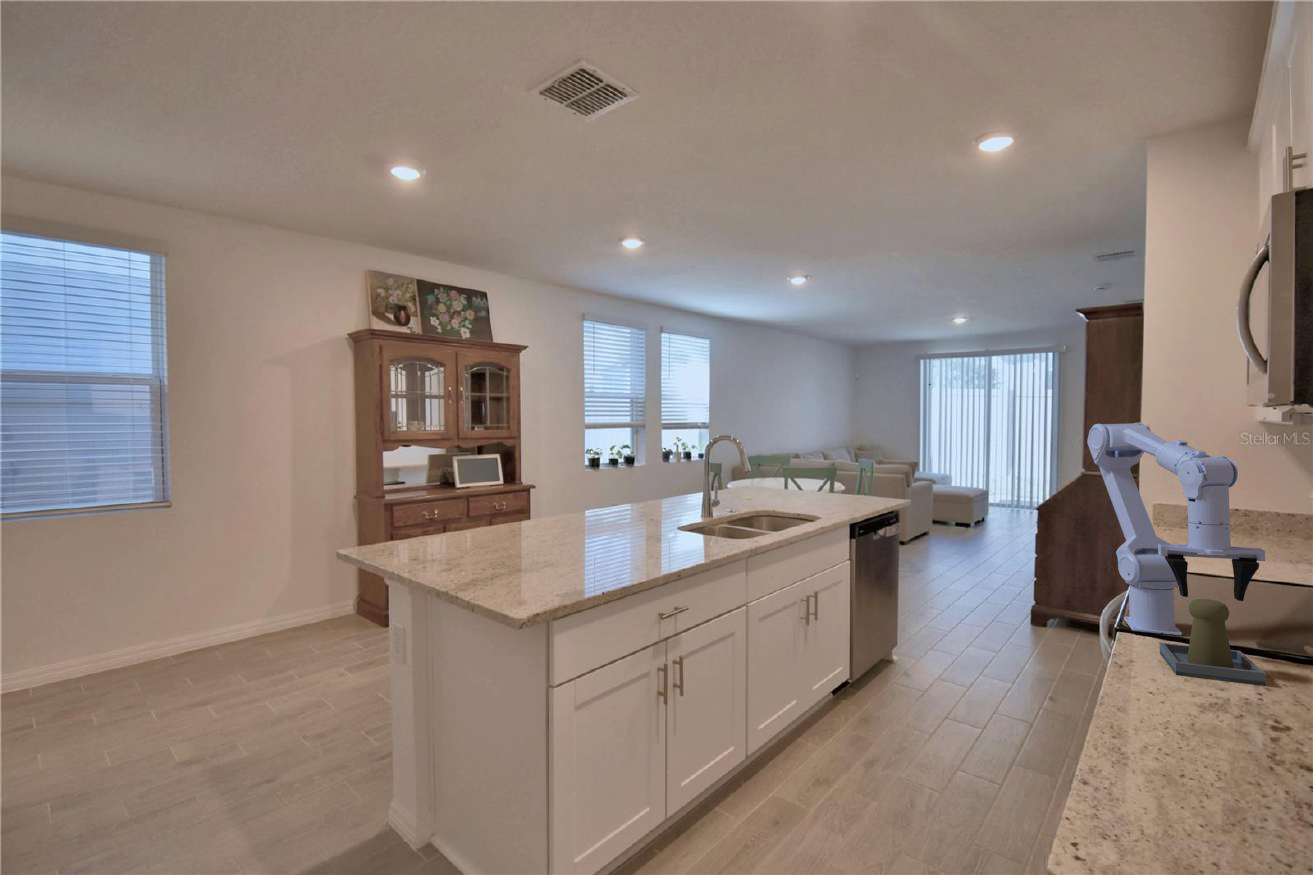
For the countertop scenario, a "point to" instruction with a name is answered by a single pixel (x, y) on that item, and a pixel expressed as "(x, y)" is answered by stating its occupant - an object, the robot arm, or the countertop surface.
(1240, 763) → the countertop surface
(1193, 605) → the cork
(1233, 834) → the countertop surface
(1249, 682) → the tray
